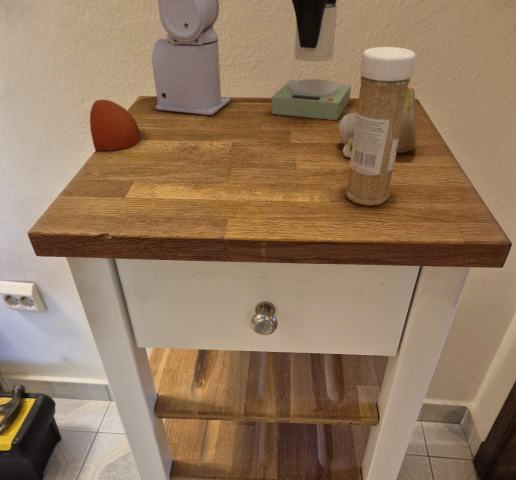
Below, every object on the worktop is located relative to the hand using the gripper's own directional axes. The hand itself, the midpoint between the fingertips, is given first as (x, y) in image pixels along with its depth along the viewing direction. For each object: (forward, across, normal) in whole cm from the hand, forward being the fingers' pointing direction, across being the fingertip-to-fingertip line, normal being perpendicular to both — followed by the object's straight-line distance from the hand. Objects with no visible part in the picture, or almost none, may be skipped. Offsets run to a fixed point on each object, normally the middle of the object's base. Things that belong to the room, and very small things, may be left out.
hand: (313, 43), depth 66 cm
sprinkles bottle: (+9, -27, -13) cm, 31 cm away
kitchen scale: (+9, +2, 0) cm, 9 cm away
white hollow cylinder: (+2, 0, 0) cm, 2 cm away
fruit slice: (+5, -20, +19) cm, 28 cm away
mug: (+9, -13, -12) cm, 20 cm away
